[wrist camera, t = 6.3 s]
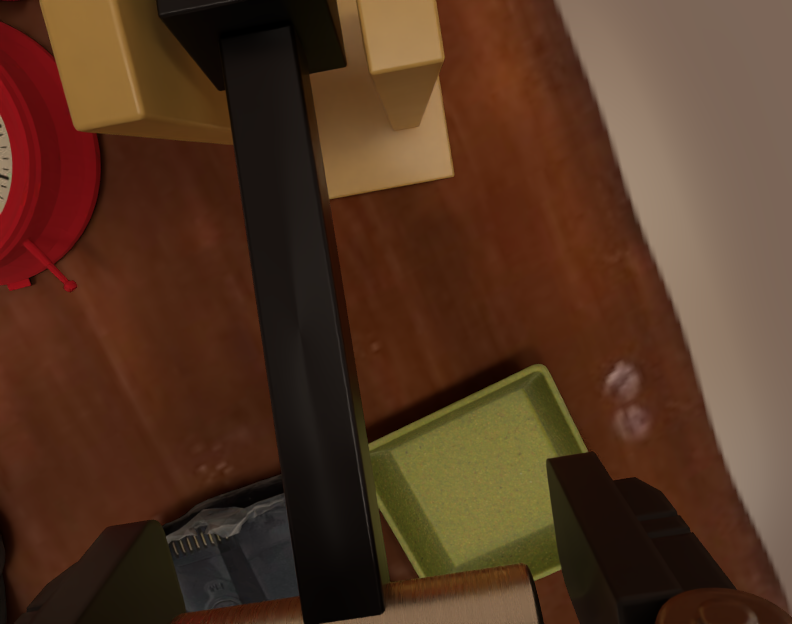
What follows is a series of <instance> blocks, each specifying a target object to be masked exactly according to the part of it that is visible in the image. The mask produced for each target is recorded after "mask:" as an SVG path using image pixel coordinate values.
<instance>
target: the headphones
mask: <svg viewBox="0 0 792 624" xmlns="http://www.w3.org/2000/svg"><path fill="white" fill-rule="evenodd" d="M4 564H5V549H4V545H3V540H2V536H1V535H0V624H6V618H7V611H6V595H5V585H4V580H3V575H2V571H3V568H4Z"/></svg>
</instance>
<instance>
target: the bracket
mask: <svg viewBox="0 0 792 624" xmlns="http://www.w3.org/2000/svg"><path fill="white" fill-rule="evenodd" d="M39 2H40V6H41V10H42V13H43V17H44V20H45V24H46V28H47V31H48V35H49V39H50V42H51V46H52V49H53V53H54V57H55V60H56V64H57V68H58V71H59V75H60V78H61V82H62V86H63V89H64V93H65V97H66V100H67V104H68V107H69V111H70V115H71V118H72V122H73V125H74V127H75V129H76V130H77V131H81V132H90V133H102V134H113V135H124V136H136V137H147V138H159V139H170V140H181V141H193V142H204V143H215V144H227V145H233V139H232V133H231V126H230V119H229V112H228V105H227V98H226V91H218V90H217V89H216V87H215V86H214V85H213V84H212V82H211V81H210V80H209V79H208V77H207V76H206V75H205V74H204V72H203V71H202V70H201V69H200V68H199V66H198V65H197V64H196V63H195V61H194V60H193V59H192V58H191V56H190V55H189V54H188V53H187V51H186V50H185V49H184V48H183V46H182V45H181V44H180V43H179V41H178V40H177V39H176V38H175V36H174V35H173V34H172V33H171V32H170V30H169V29H168V28H167V27H166V25H165V24H164V23H163V22H162V20H161V19H160V18H159V16H158V11H157V4H156V0H39ZM337 5H338V12H339V18H340V24H341V30H342V36H343V42H344V48H345V54H346V60H347V66H346V67H344V68H339V69H334V70H329V71H324V72H318V73H313V74H309V75H310V82H311V88H312V94H313V100H314V107H315V113H316V119H317V126H318V132H319V138H320V144H321V151H322V157H323V163H324V170H325V176H326V182H327V188H328V195H329V199H335V198H340V197H346V196H351V195H357V194H362V193H368V192H373V191H379V190H384V189H390V188H395V187H401V186H406V185H412V184H417V183H423V182H428V181H434V180H439V179H445V178H450V177H453V176H454V168H453V162H452V156H451V149H450V143H449V136H448V130H447V124H446V117H445V111H444V104H443V98H442V92H441V85H440V79H439V73H440V70H441V67H442V65H443V62H444V58H445V55H444V49H443V42H442V36H441V29H440V23H439V16H438V10H437V3H436V0H337Z"/></svg>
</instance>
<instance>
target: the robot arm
mask: <svg viewBox="0 0 792 624" xmlns="http://www.w3.org/2000/svg"><path fill="white" fill-rule="evenodd" d="M546 470H547V478H548V485H549V492H550V500H551V507H552V514H553V521H554V528H555V535H556V543H557V549H558V555H559V560H560V565H561V569H562V573H563V577H564V581H565V584H566V587H567V590H568V593H569V596H570V598H571V601H572V604H573V606H574V609H575V612H576V614H577V617H578V620H579V622H580V624H792V617H791V616H790V615H789V614H788V613H787V612H785V611H784V610H783V609H781V608H780V607H778V606H777V605H775V604H773V603H772V602H770V601H768V600H766V599H764V598H761V597H759V596H756V595H754V594H750V593H747V592H744V591H739V590H737V589H736V588H735V586H734V585H733V584H732V582H731V581H730V580H729V578H728V577H727V576H726V575H725V573H724V572H723V571H722V569H721V568H720V567H719V566H718V564H717V563H716V562H715V560H714V559H713V558H712V556H711V555H710V554H709V553H708V551H707V550H706V549H705V547H704V546H703V545H702V543H701V542H700V541H699V540H698V538H697V537H696V536H695V534H694V533H693V532H692V533H691V532H690V528H689V527H688V525H687V524H686V523H685V521H684V520H683V519H682V518H681V516H680V515H677V511H676V510H675V508H674V507H673V506H672V505H671V503H670V502H669V501H668V499H667V498H666V497H665V495H664V494H663V493H662V492H661V491H659V490H658V489H656V488H654V487H652V486H650V485H648V484H647V483H645V482H643V481H641V480H639V479H637V478H636V477H633V478H626V479H620V480H612V479H611V477H610V476H609V474H608V472H607V471H606V469H605V468H604V466H603V465H602V463H601V462H600V460H599V458H598V457H597V455H596V454H595V453H594V452H586V453H580V454H573V455H567V456H560V457H554V458H548V459H547V460H546ZM182 613H186V608H185V603H184V599H183V595H182V592H181V588H180V584H179V581H178V577H177V574H176V570H175V567H174V563H173V560H172V556H171V553H170V549H169V546H168V542H167V538H166V535H165V532H164V530H163V527H162V526H161V524H160V523H159V522H158V521H156V520H147V521H141V522H134V523H128V524H122V525H115V526H110V527H107V528H106V529H105V530H104V531H103V532H102V533H101V534H100V536H99V537H98V538H97V539H96V540H95V542H94V543H93V544H92V545H91V547H90V548H89V549H88V550H87V551H86V553H85V554H84V555H83V556H82V558H81V559H80V560H79V561H78V562H76V563H75V564H74V565H72V566H71V567H69V568H68V569H67V570H65V571H64V572H63V573H61V574H60V575H59V576H57V577H56V578H55V579H53V580H52V581H51V582H49V583H48V584H47V585H46V586H45V587H44V588H43V589H42V591H41V592H40V593H39V594H38V595H37V597H36V598H35V599H34V600H33V601H32V602H31V604H30V605H29V606H28V607H27V612H26V613H22V614H21V615H20V617H19V618H18V619H17V620H16V621H15V622H14V624H169V622H170V621H171V620H172V619H173V618H174V617H176V616H178V615H179V614H182Z"/></svg>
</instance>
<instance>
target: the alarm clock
mask: <svg viewBox="0 0 792 624" xmlns="http://www.w3.org/2000/svg"><path fill="white" fill-rule="evenodd" d="M0 1H18V0H0ZM100 175H101V162H100V149H99V144H98V138H97V134H96V133H90V132H81V131H77V130H76V129H75V127H74V125H73V122H72V118H71V115H70V111H69V107H68V104H67V100H66V97H65V93H64V89H63V86H62V82H61V78H60V75H59V71H58V68H57V64H56V60H55V58H54V57H53V56H52V55H51V54H50V53H49V52H48V51H47V50H45V49H44V48H43V47H42V46H41V45H39V44H38V43H37V42H36V41H34V40H33V39H31V38H30V37H28V36H27V35H25V34H24V33H22V32H21V31H19V30H17V29H15V28H13V27H11V26H9V25H7V24H5V23H3V22H0V285H6V284H7V285H8V288H9V291H11V290H15V289H19V288H23V287H27V286H31V283H30V281H29V277H32V276H34V275H36V274H38V273H40V272H42V271H44V270H46V269H47V268H48V269H49V270H50V271H51V272H52V273H53V274H54V275H55V276H56V277H57V278H58V279H59V280H60V281H61V282H62V283H63V284H64V289H65V290H66V291H67V292H72V291H73V290H75V289H76V288H77V284H76V282H75V281H74V280H72V281H69V280H68V279H67V278H66V277H65V276H64V275H63V274H62V273H61V272H60V271H59V270H58V269H57V268H56V267H55V266H54V264H55V263H56V262H57V261H58V260H60V259H61V258H62V257H63V256H64V255H65V254H66V253H67V252H68V251H69V250H70V249H71V248H72V247H73V246H74V244H75V243H76V242H77V240H78V239H79V238H80V236H81V235H82V234H83V232H84V230H85V228H86V226H87V224H88V222H89V221H90V218H91V216H92V213H93V210H94V207H95V204H96V200H97V197H98V191H99V185H100Z"/></svg>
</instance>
